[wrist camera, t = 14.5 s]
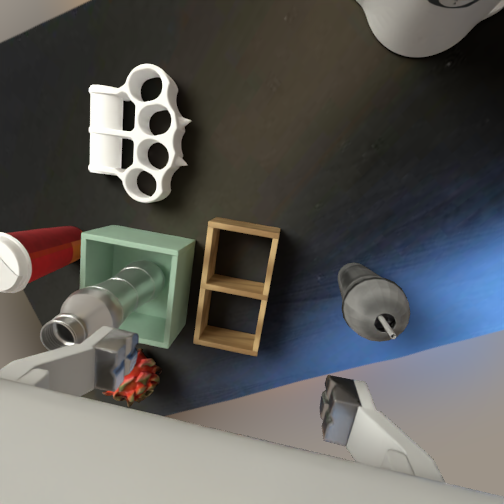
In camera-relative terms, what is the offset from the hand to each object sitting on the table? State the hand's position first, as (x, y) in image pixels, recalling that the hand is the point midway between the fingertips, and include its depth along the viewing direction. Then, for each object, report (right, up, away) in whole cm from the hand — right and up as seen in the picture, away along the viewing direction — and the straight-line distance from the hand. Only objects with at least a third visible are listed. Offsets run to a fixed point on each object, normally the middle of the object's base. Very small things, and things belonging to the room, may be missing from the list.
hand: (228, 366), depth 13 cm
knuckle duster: (-15, +22, +32) cm, 41 cm away
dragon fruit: (-19, -15, +41) cm, 48 cm away
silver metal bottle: (-16, +1, +36) cm, 39 cm away
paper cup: (-28, +6, +37) cm, 47 cm away
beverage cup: (+16, +1, +33) cm, 37 cm away
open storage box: (-16, +1, +37) cm, 40 cm away
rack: (-1, 0, +35) cm, 35 cm away
